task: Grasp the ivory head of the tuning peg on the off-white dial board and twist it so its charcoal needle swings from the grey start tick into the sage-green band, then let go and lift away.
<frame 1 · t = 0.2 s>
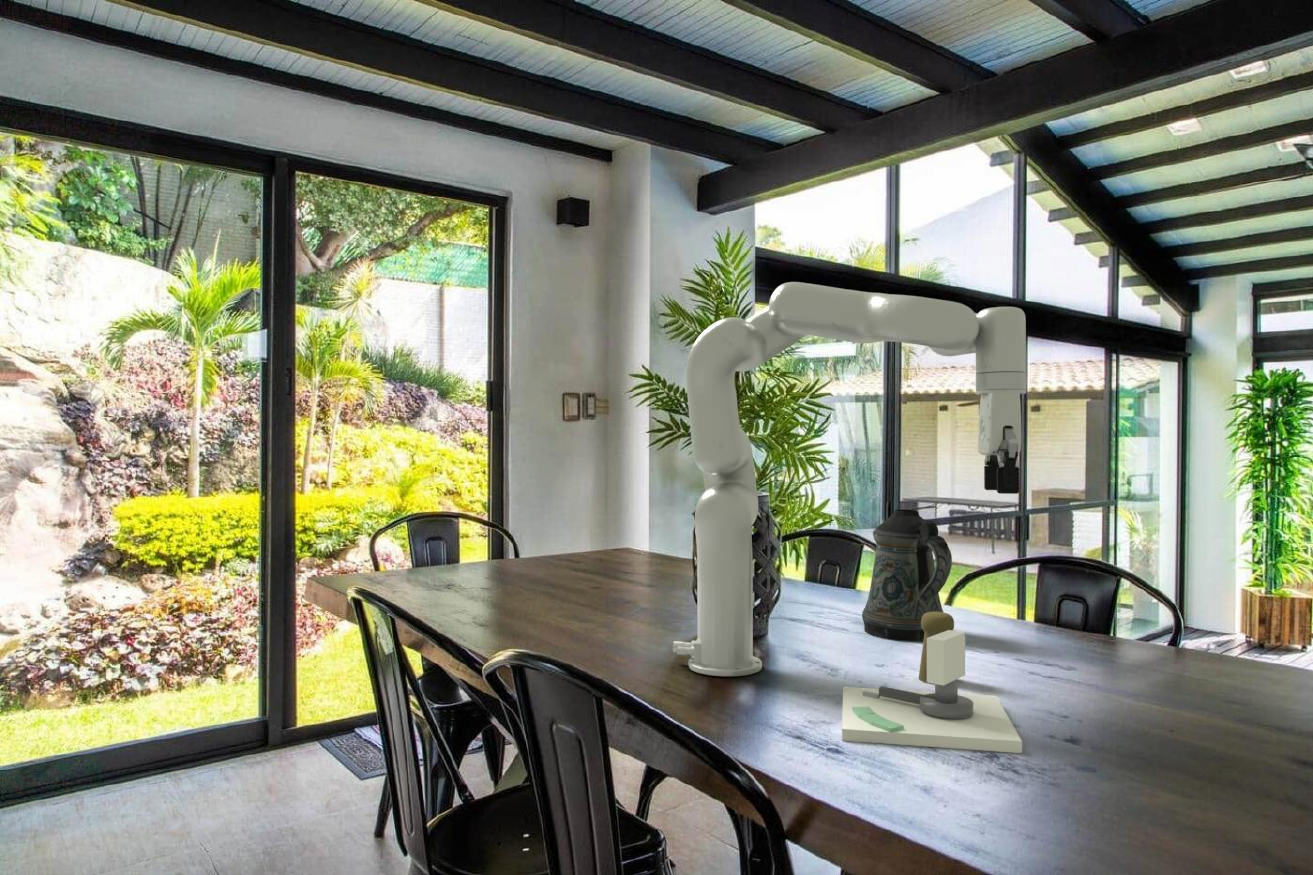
hand: (1001, 491, 140), 31 cm above the table, fingers open, 9 cm apart
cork: (937, 681, 143), on the table
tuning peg: (924, 668, 123), point 7 cm above the table, hinge at 0.0°
dial board: (923, 722, 121), on the table
beer stein: (910, 634, 178), on the table
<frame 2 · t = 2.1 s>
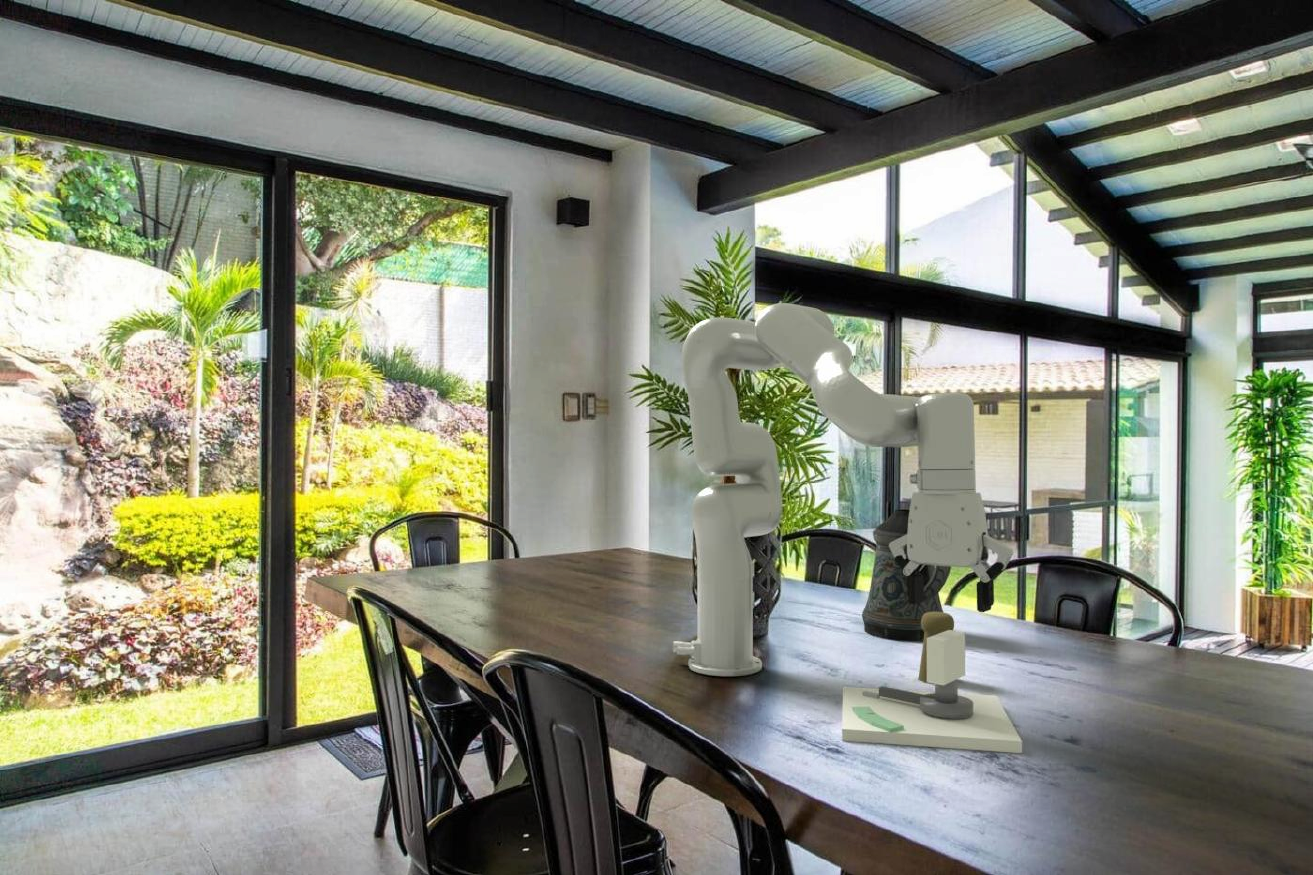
hand: (949, 606, 121), 16 cm above the table, fingers open, 9 cm apart
nothing on the table moved.
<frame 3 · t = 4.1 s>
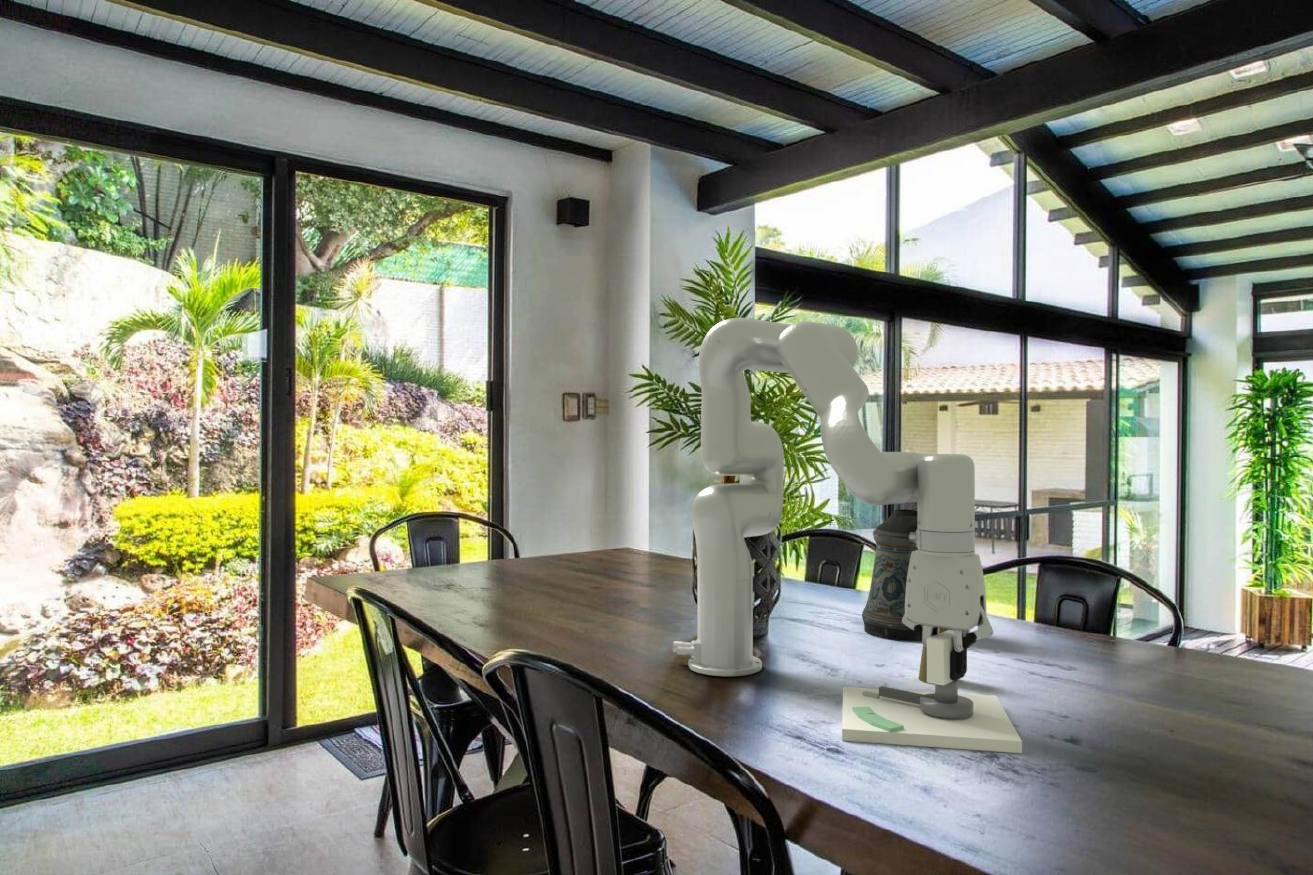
hand: (946, 675, 121), 7 cm above the table, fingers closed on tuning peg, 2 cm apart
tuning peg: (924, 668, 123), point 7 cm above the table, hinge at 0.0°, touching gripper
everything else where it was.
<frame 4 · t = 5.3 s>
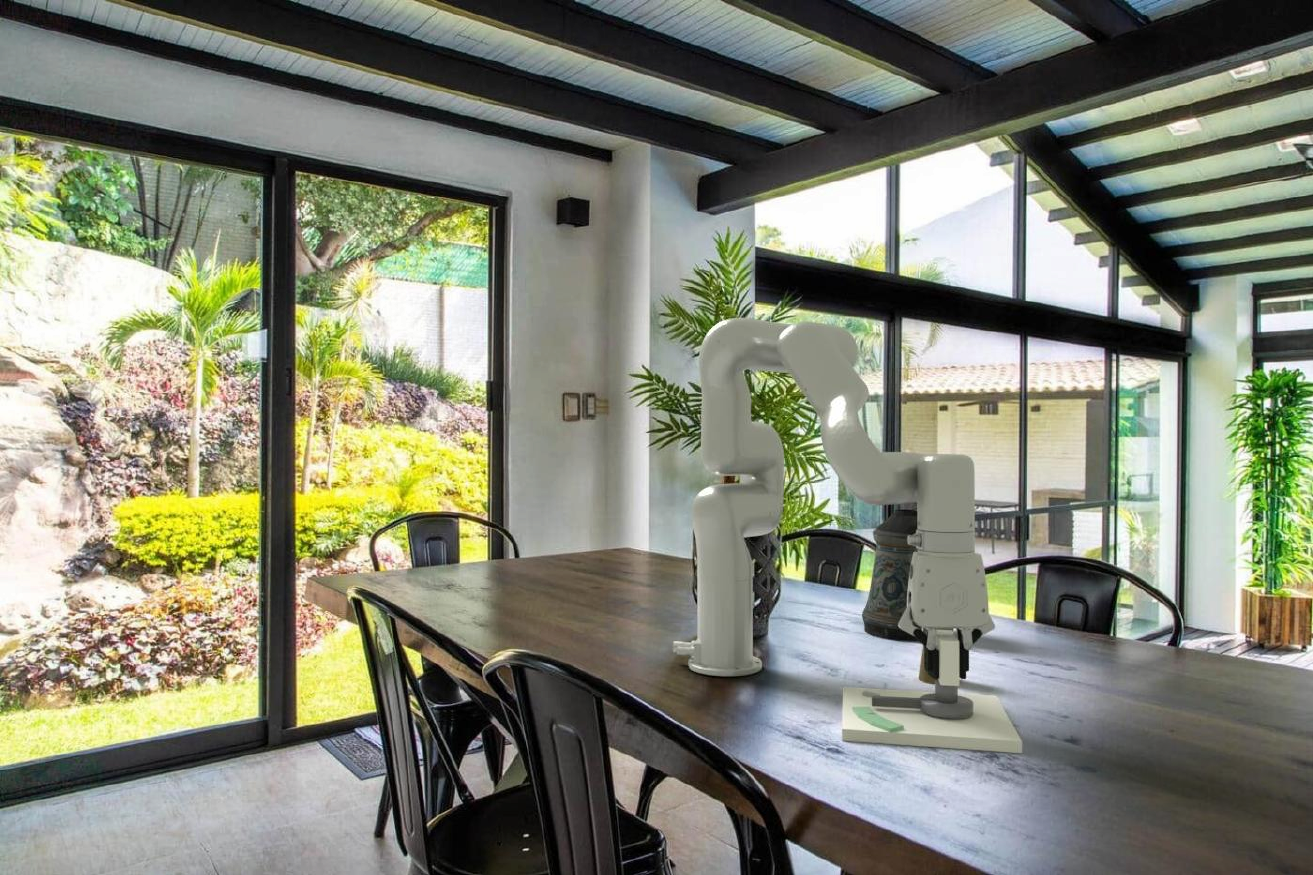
hand: (946, 675, 121), 7 cm above the table, fingers closed on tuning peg, 3 cm apart
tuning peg: (921, 671, 121), point 7 cm above the table, hinge at 32.0°, touching gripper
everything else where it was.
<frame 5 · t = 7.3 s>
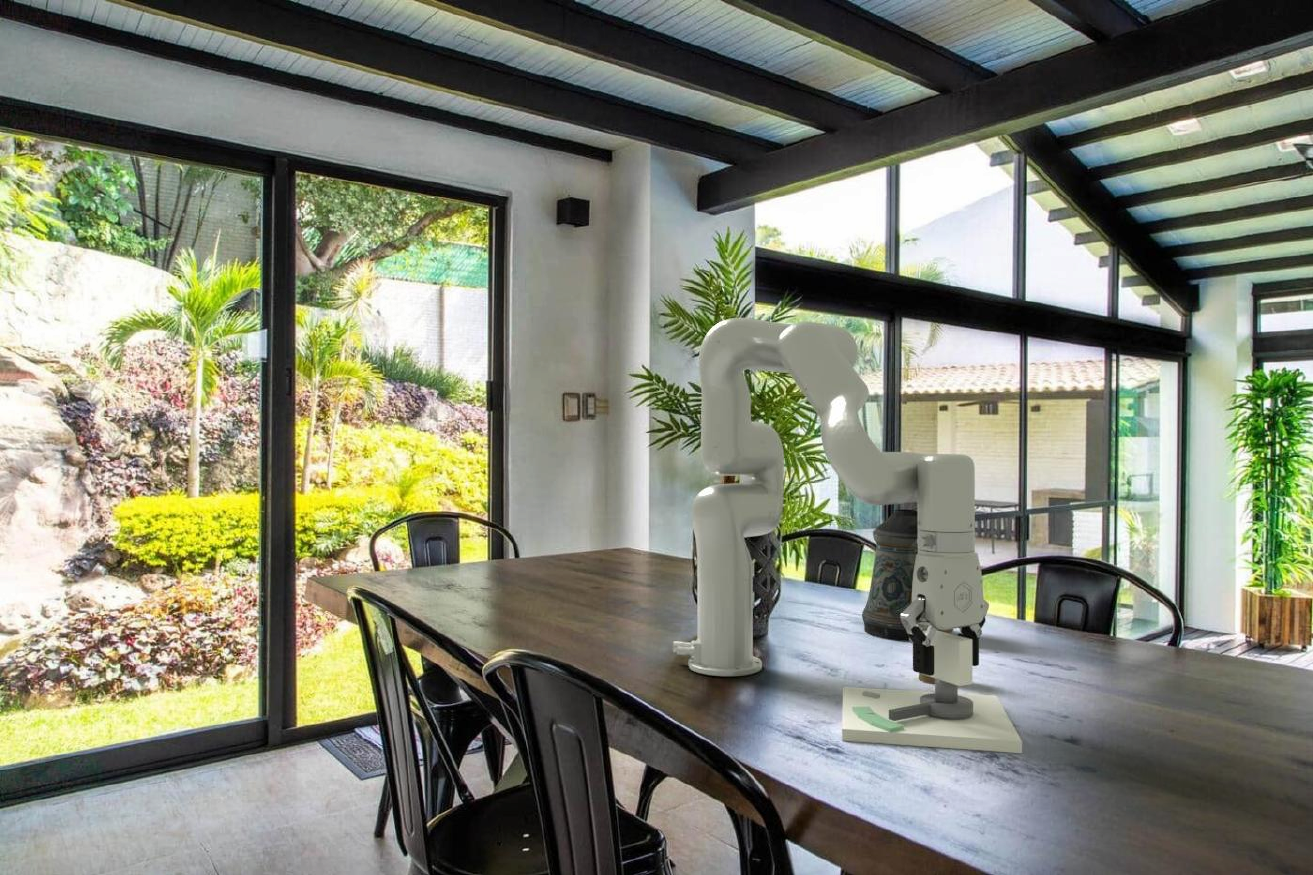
hand: (946, 668, 121), 8 cm above the table, fingers open, 8 cm apart
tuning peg: (928, 675, 119), point 7 cm above the table, hinge at 70.4°
everything else where it was.
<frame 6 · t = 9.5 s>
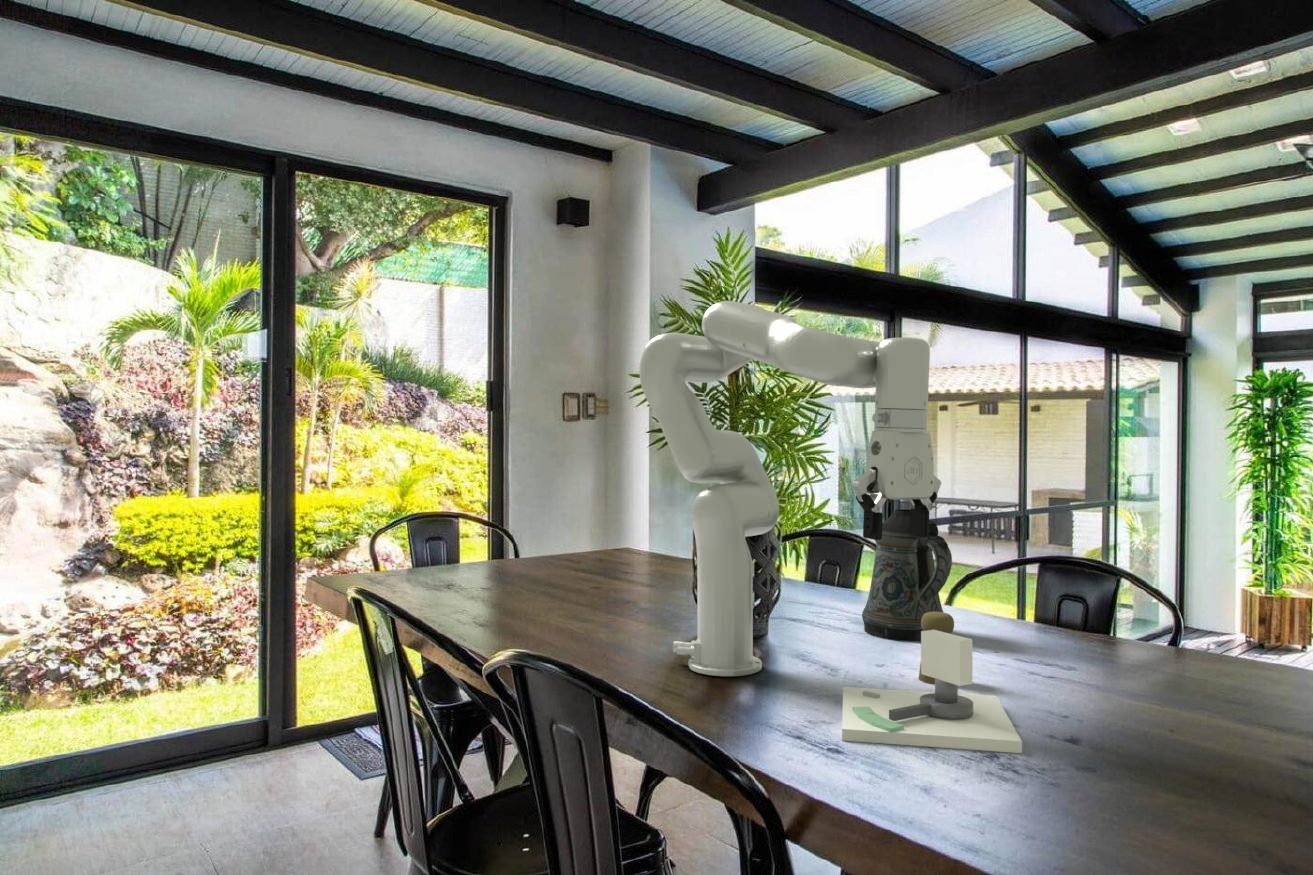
hand: (895, 537, 130), 25 cm above the table, fingers open, 9 cm apart
nothing on the table moved.
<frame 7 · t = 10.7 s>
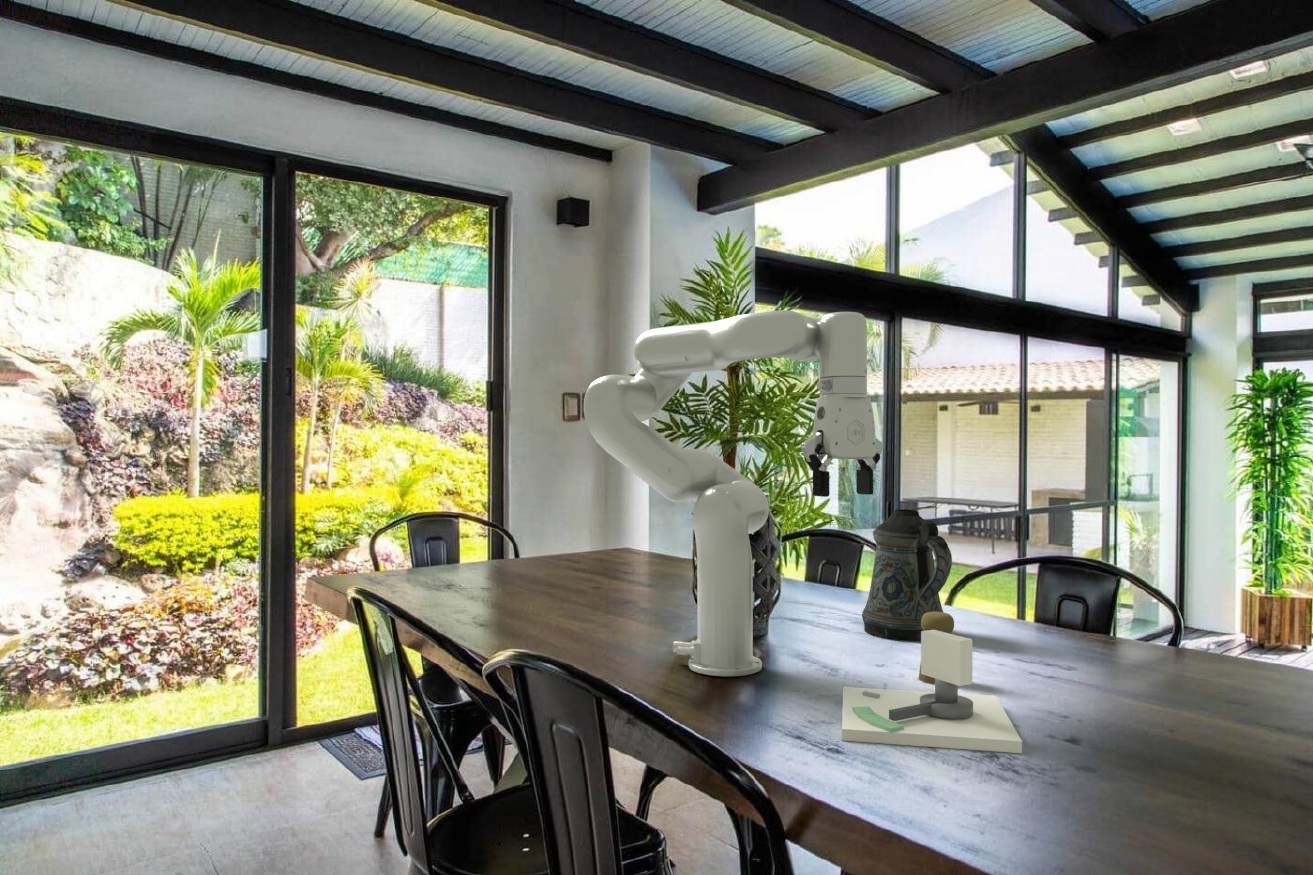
hand: (843, 495, 142), 30 cm above the table, fingers open, 9 cm apart
nothing on the table moved.
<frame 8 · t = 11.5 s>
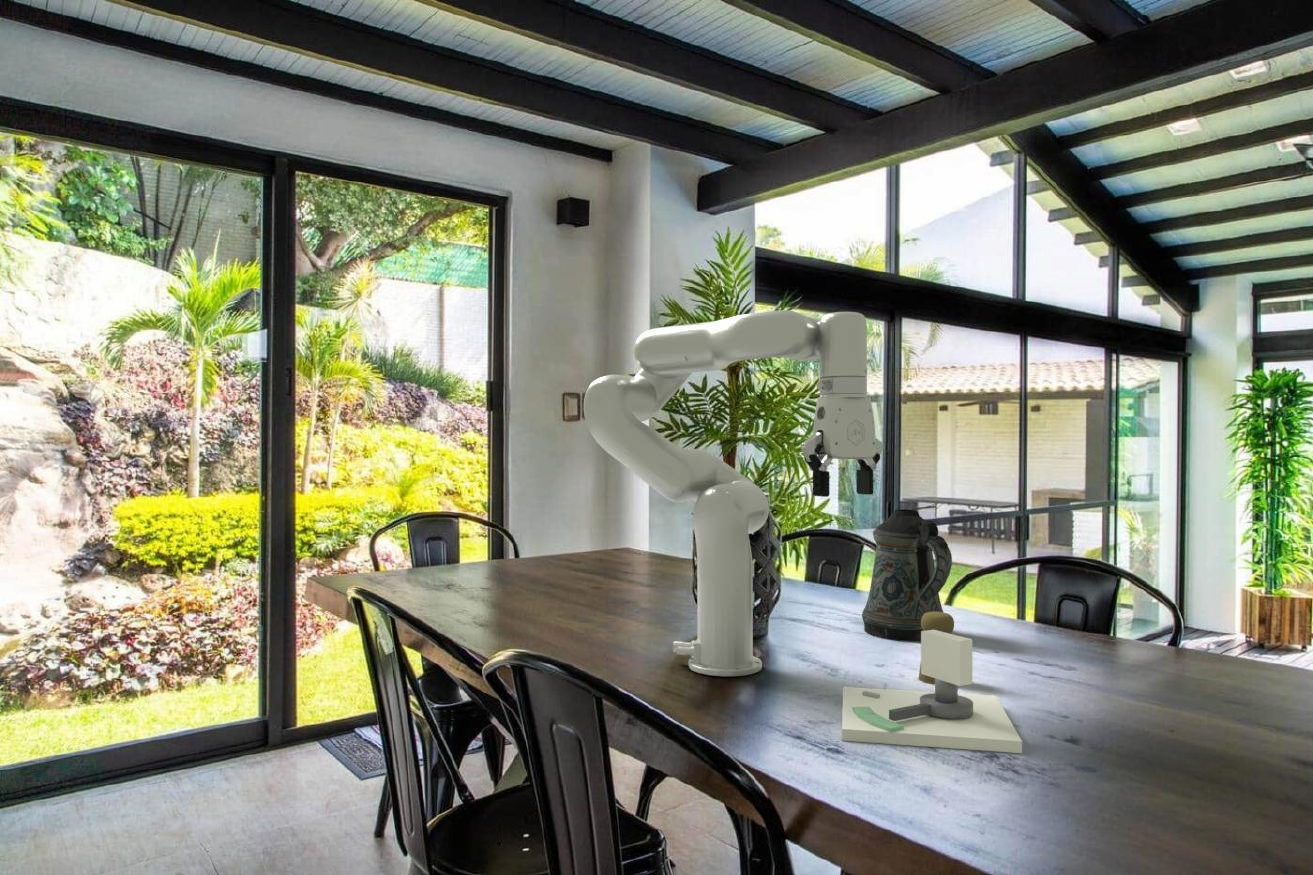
hand: (843, 495, 142), 30 cm above the table, fingers open, 9 cm apart
nothing on the table moved.
at the end: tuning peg at +71° (first picture: +0°); the gripper is holding nothing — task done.
